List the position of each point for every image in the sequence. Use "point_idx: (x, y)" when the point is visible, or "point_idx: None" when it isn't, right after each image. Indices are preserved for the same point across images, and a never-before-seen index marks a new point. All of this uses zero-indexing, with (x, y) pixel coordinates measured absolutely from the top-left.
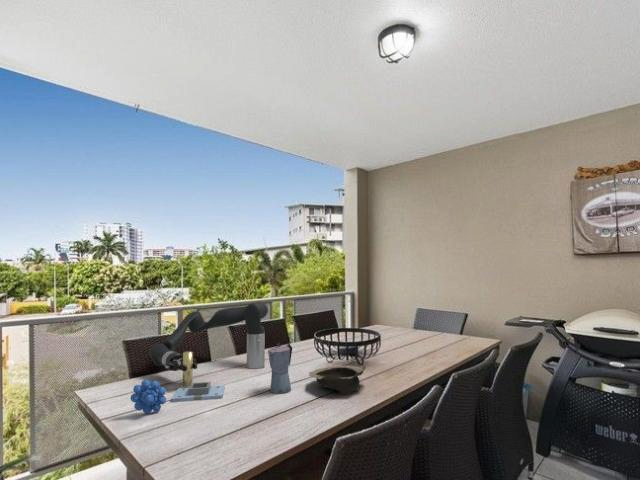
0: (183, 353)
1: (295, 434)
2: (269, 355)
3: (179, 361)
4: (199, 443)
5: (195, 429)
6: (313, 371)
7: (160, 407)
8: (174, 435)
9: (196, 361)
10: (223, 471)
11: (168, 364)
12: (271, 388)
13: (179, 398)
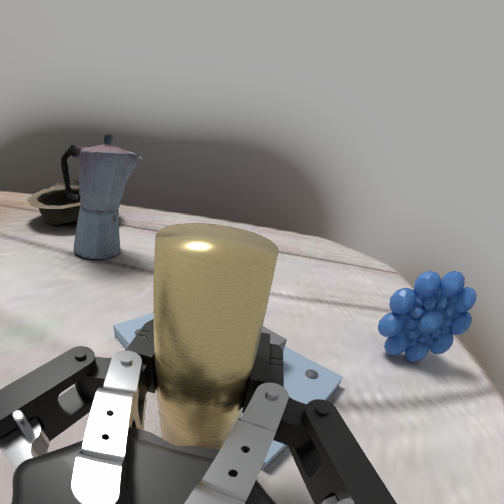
0: (276, 257)
1: (242, 227)
2: (119, 166)
3: (238, 442)
4: (339, 264)
5: (332, 278)
6: (50, 208)
7: (386, 340)
8: (365, 285)
9: (82, 351)
10: (334, 243)
11: (377, 477)
12: (113, 248)
13: (317, 364)
